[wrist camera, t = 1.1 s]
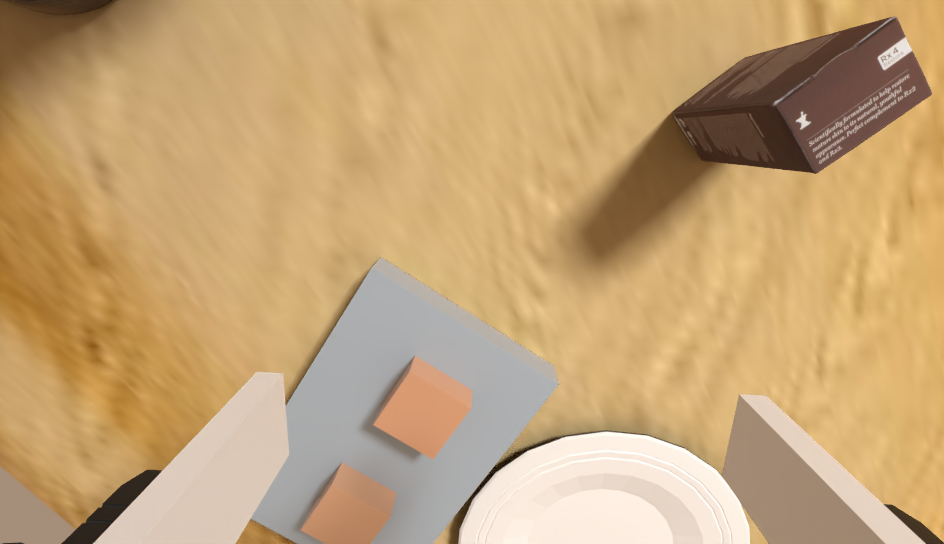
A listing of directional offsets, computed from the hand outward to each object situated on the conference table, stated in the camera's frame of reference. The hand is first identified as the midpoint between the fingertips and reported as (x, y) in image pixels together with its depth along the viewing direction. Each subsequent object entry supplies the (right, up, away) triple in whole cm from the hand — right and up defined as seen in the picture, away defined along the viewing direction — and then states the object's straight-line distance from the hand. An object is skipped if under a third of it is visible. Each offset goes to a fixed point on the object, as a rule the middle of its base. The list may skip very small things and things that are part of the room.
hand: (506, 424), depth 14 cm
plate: (+10, -20, +29) cm, 37 cm away
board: (-8, -8, +26) cm, 29 cm away
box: (+16, +15, +19) cm, 30 cm away
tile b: (-10, -14, +25) cm, 30 cm away
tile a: (-4, -5, +22) cm, 23 cm away
